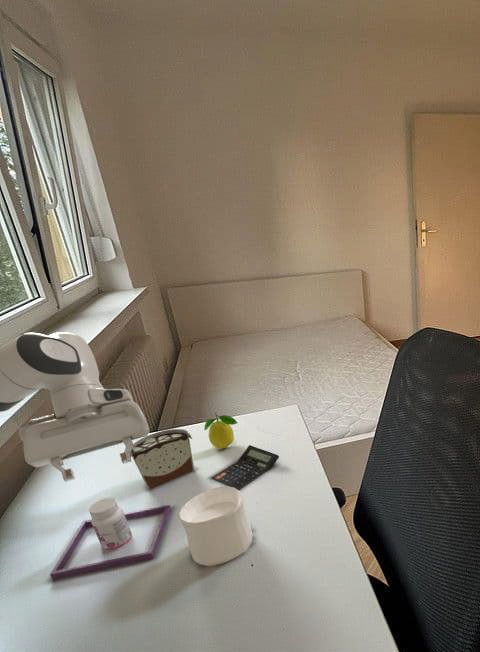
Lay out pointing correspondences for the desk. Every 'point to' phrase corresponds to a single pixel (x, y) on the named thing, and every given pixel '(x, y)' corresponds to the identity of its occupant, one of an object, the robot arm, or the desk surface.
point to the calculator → (247, 468)
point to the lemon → (221, 431)
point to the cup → (216, 526)
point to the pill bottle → (110, 524)
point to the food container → (163, 456)
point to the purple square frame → (60, 573)
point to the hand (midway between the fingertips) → (98, 470)
